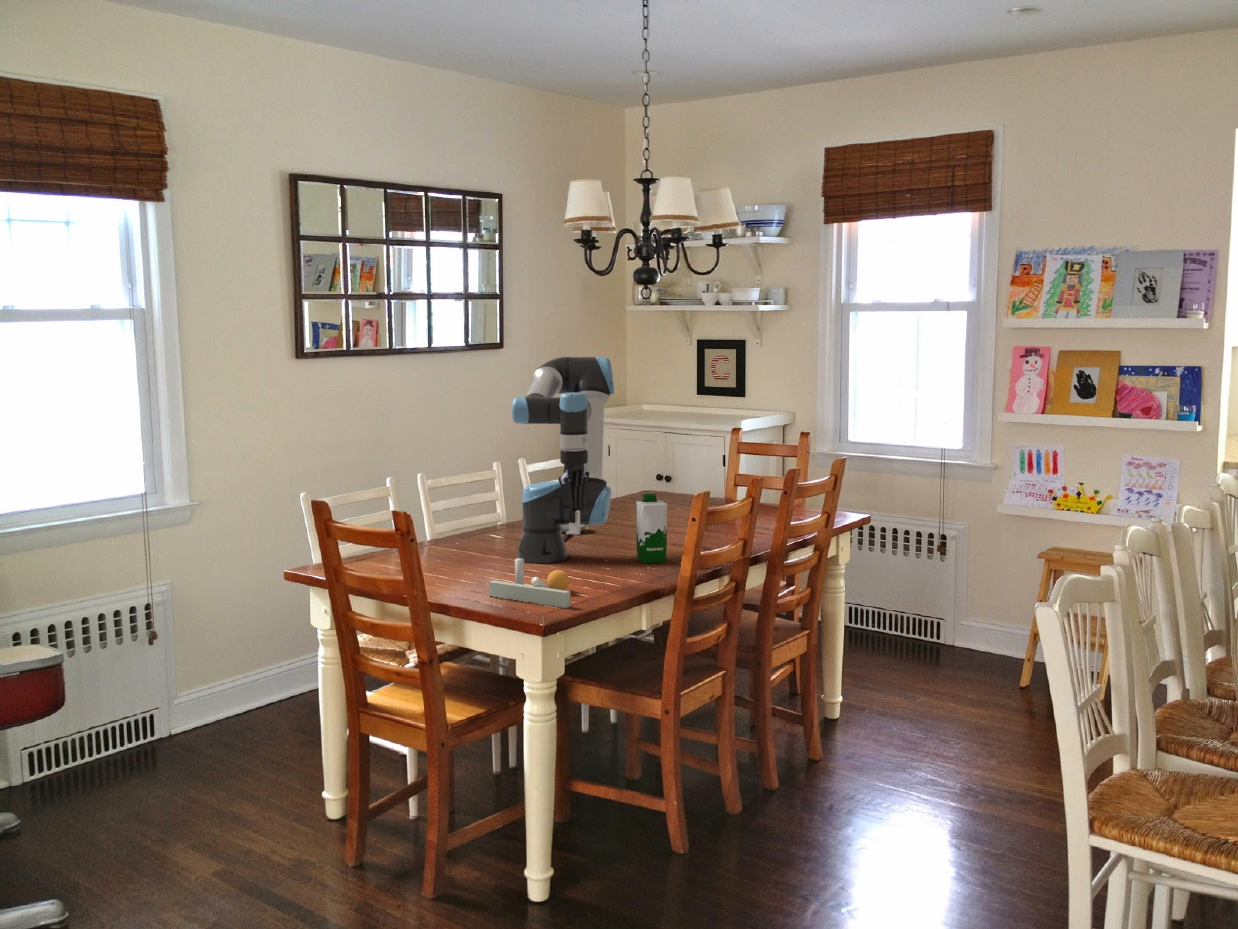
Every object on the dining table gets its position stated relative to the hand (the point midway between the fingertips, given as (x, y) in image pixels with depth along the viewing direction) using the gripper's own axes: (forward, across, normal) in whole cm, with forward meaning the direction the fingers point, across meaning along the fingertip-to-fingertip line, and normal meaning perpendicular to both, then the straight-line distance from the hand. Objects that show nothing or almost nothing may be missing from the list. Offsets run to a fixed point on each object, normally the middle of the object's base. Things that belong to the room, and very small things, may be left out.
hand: (574, 533), depth 305 cm
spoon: (+15, +51, +35) cm, 63 cm away
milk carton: (+14, +35, -6) cm, 38 cm away
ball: (+11, -11, -1) cm, 15 cm away
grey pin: (+14, -14, +9) cm, 22 cm away
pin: (+13, -15, 0) cm, 19 cm away
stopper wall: (+14, -23, 0) cm, 27 cm away
